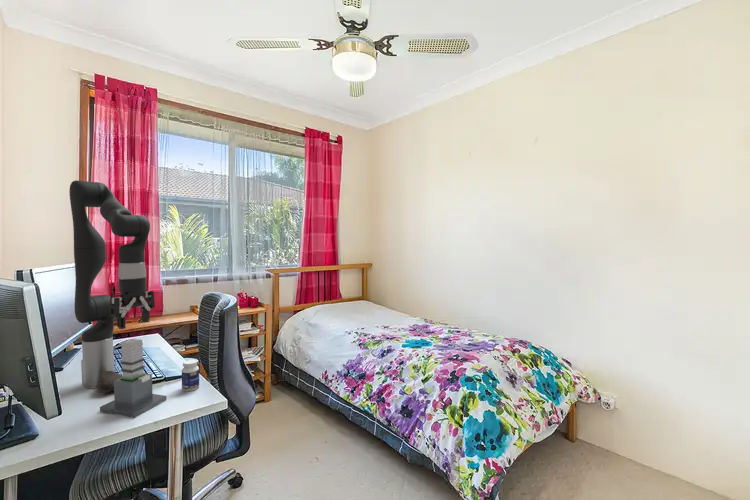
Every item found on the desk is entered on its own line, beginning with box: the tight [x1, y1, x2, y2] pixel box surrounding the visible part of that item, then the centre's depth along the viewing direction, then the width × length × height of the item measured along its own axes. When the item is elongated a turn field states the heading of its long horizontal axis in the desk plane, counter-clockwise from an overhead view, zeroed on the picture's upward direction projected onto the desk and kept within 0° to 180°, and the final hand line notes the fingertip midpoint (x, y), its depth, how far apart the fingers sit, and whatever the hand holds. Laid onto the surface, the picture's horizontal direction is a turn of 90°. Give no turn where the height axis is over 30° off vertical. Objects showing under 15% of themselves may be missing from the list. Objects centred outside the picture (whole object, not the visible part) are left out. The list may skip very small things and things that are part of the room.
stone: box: [96, 371, 123, 395], centre depth 131 cm, size 10×8×10 cm
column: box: [120, 338, 146, 382], centre depth 119 cm, size 5×5×15 cm
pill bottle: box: [181, 359, 200, 392], centre depth 133 cm, size 6×6×10 cm
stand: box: [99, 373, 167, 418], centre depth 120 cm, size 14×12×10 cm
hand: (134, 325), depth 120 cm, fingers open, 8 cm apart
